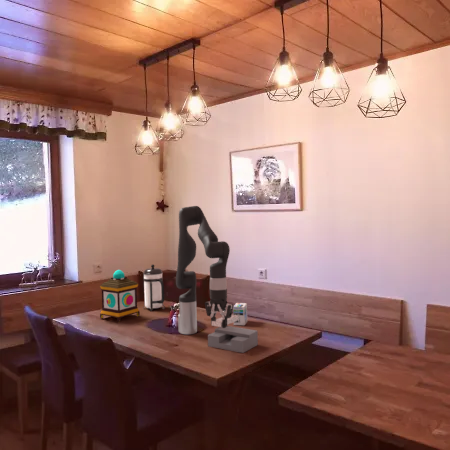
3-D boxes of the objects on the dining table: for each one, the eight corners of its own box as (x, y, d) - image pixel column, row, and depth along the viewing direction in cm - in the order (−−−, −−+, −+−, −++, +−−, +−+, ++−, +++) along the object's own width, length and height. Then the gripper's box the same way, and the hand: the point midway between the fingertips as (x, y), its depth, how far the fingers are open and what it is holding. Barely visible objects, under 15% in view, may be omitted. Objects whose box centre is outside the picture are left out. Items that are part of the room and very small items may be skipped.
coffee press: (138, 311, 289) (137, 266, 288) (147, 306, 305) (145, 262, 303) (164, 312, 286) (163, 266, 285) (171, 306, 302) (170, 262, 301)
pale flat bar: (211, 325, 191) (211, 321, 191) (229, 318, 202) (229, 314, 202) (221, 327, 188) (221, 322, 188) (238, 319, 199) (238, 315, 199)
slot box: (208, 346, 215) (207, 332, 215) (223, 338, 227) (223, 325, 227) (243, 353, 204) (242, 338, 204) (257, 344, 216) (257, 330, 216)
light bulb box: (244, 325, 251) (244, 307, 250) (233, 325, 252) (232, 306, 251) (247, 320, 261) (247, 302, 261) (236, 320, 262) (236, 302, 262)
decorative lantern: (96, 319, 272) (95, 270, 270) (121, 312, 288) (119, 266, 287) (118, 323, 260) (117, 273, 259) (143, 316, 277) (141, 268, 275)
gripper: (199, 287, 191) (200, 326, 192) (227, 290, 183) (228, 331, 184) (210, 285, 197) (210, 322, 198) (236, 287, 189) (237, 326, 190)
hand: (219, 326), depth 191 cm, fingers closed on pale flat bar, 5 cm apart
